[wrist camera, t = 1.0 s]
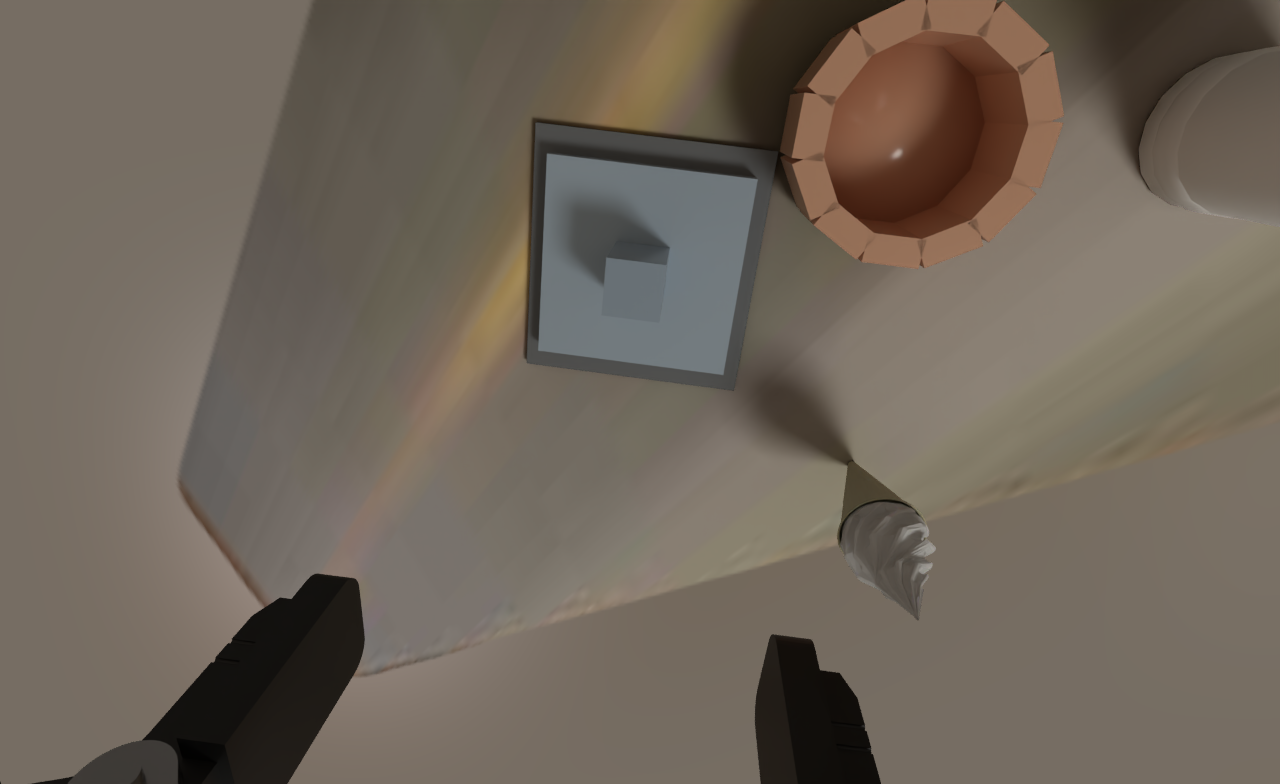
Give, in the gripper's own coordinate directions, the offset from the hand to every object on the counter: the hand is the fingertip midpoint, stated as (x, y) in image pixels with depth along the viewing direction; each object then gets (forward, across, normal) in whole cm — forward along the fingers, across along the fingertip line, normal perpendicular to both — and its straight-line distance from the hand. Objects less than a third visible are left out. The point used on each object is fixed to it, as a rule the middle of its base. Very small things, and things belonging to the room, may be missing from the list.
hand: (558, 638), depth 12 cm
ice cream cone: (+31, -15, +12) cm, 36 cm away
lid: (+30, +1, 0) cm, 30 cm away
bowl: (+30, -12, -9) cm, 34 cm away
